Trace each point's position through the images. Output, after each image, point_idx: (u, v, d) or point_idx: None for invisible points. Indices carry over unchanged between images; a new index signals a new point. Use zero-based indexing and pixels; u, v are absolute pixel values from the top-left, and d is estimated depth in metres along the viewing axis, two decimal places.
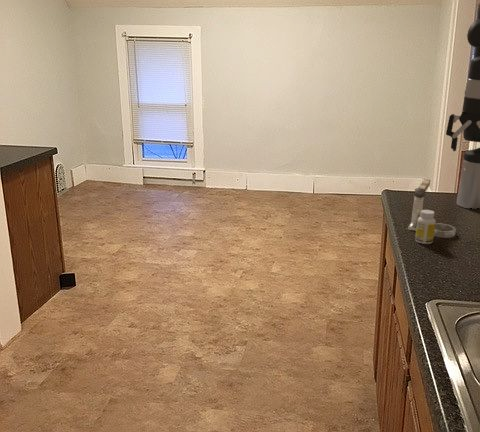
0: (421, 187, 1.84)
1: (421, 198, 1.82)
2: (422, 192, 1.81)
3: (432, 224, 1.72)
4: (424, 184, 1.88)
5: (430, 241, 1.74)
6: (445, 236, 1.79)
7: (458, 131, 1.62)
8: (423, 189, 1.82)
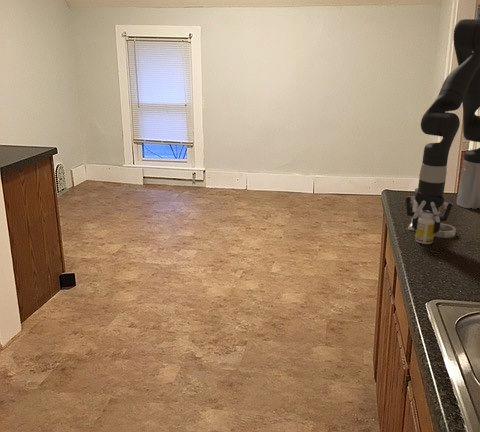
0: None
1: None
2: None
3: (432, 224, 1.72)
4: None
5: (430, 241, 1.74)
6: (445, 236, 1.79)
7: (417, 212, 1.73)
8: None
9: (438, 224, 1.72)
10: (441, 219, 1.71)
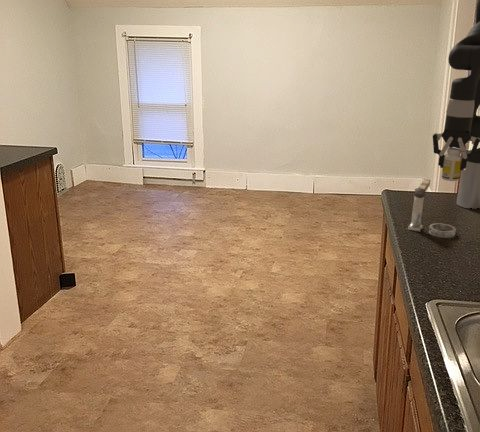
0: (421, 187, 1.84)
1: (421, 198, 1.82)
2: (422, 192, 1.81)
3: (459, 160, 1.72)
4: (424, 184, 1.88)
5: (457, 178, 1.74)
6: (445, 236, 1.79)
7: (443, 149, 1.74)
8: (423, 189, 1.82)
9: (465, 161, 1.73)
10: (468, 155, 1.72)
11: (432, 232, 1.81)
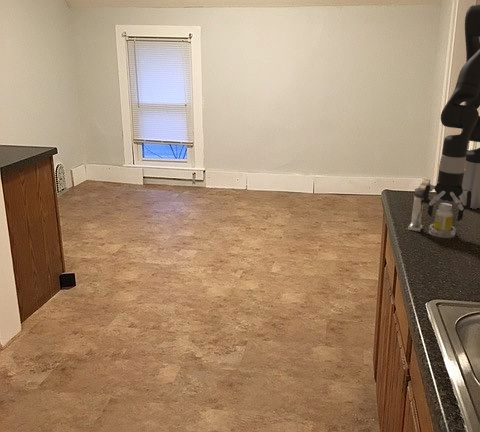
0: (421, 187, 1.84)
1: (421, 198, 1.82)
2: (422, 192, 1.81)
3: (450, 216, 1.79)
4: (424, 184, 1.88)
5: None
6: (445, 236, 1.79)
7: (434, 200, 1.80)
8: (423, 189, 1.82)
9: (461, 212, 1.78)
10: (464, 207, 1.77)
11: (432, 232, 1.81)
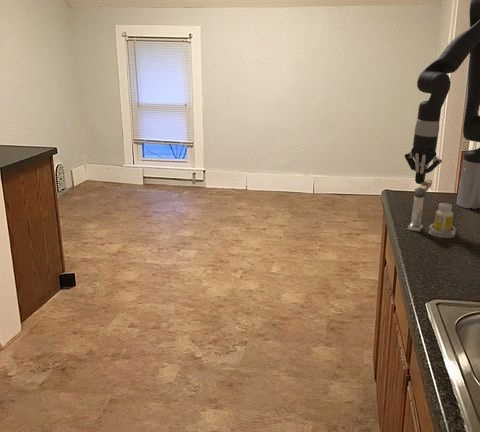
0: (421, 188, 1.84)
1: (421, 198, 1.82)
2: (422, 192, 1.81)
3: (450, 217, 1.79)
4: (425, 184, 1.88)
5: None
6: (445, 236, 1.79)
7: (416, 166, 1.90)
8: (423, 189, 1.82)
9: (422, 175, 1.91)
10: (424, 171, 1.90)
11: (432, 232, 1.81)
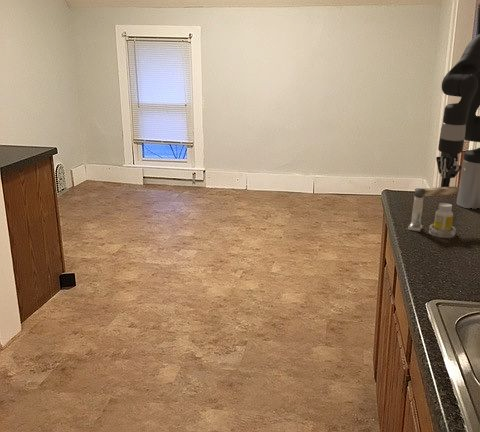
0: (426, 189, 1.83)
1: (421, 198, 1.82)
2: (418, 192, 1.81)
3: (450, 216, 1.79)
4: (439, 188, 1.84)
5: None
6: (445, 236, 1.79)
7: (441, 169, 1.86)
8: (423, 190, 1.81)
9: (445, 180, 1.85)
10: None
11: (432, 232, 1.81)
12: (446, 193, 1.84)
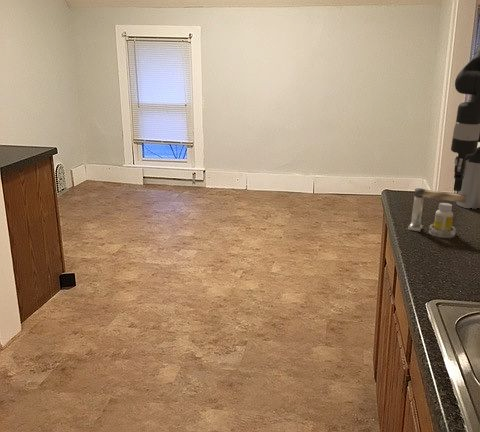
0: (427, 190, 1.81)
1: (421, 198, 1.82)
2: (415, 191, 1.82)
3: (450, 217, 1.79)
4: (442, 192, 1.79)
5: None
6: (445, 236, 1.79)
7: None
8: (422, 190, 1.81)
9: (455, 181, 1.79)
10: None
11: (432, 232, 1.81)
12: (449, 199, 1.78)
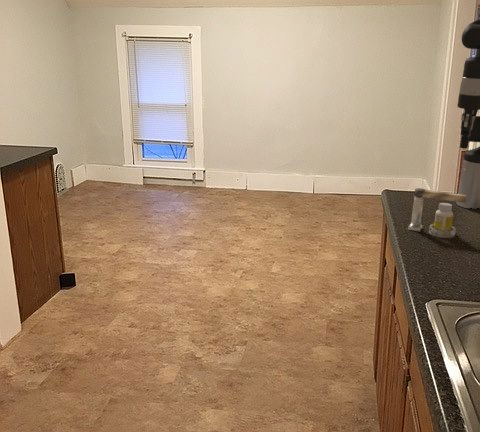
0: (427, 190, 1.81)
1: (421, 198, 1.82)
2: (415, 191, 1.82)
3: (450, 216, 1.79)
4: (442, 192, 1.79)
5: None
6: (445, 236, 1.79)
7: None
8: (422, 190, 1.81)
9: (462, 138, 1.78)
10: None
11: (432, 232, 1.81)
12: (449, 199, 1.78)
